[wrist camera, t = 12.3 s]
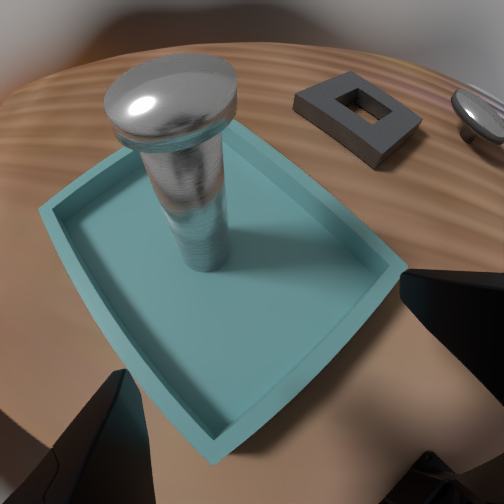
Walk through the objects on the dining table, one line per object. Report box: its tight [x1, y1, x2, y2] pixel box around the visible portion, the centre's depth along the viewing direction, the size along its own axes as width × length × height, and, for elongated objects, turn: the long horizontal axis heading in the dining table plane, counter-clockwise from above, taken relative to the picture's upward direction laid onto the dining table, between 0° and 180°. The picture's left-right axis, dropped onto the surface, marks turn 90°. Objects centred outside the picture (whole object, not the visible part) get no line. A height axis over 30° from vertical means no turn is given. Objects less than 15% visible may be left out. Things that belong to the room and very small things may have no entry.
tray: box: [38, 119, 409, 466], centre depth 19 cm, size 20×16×3 cm
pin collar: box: [292, 71, 423, 169], centre depth 27 cm, size 10×10×2 cm
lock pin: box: [104, 53, 237, 272], centre depth 14 cm, size 4×4×12 cm
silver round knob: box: [451, 89, 504, 145], centre depth 27 cm, size 9×9×5 cm
